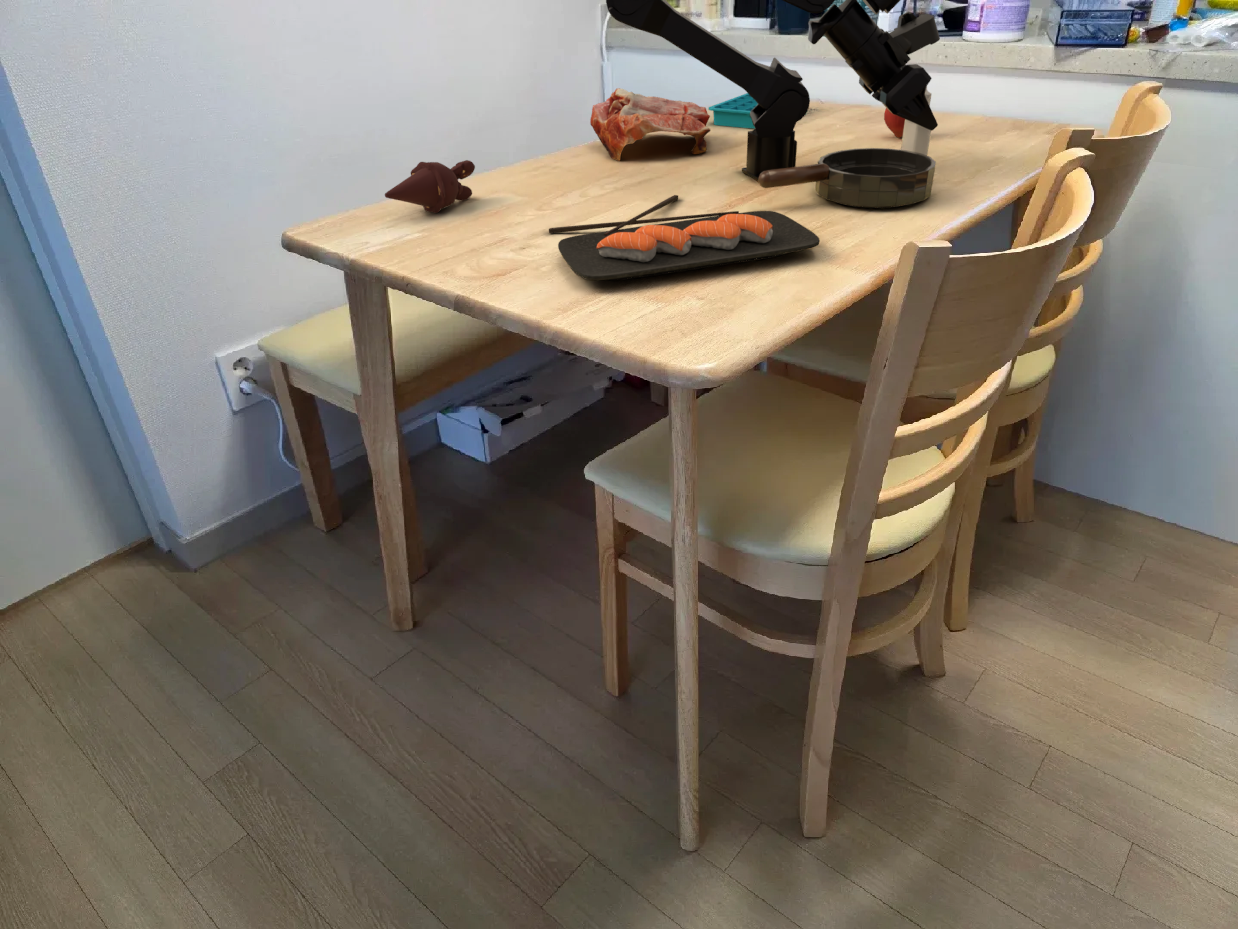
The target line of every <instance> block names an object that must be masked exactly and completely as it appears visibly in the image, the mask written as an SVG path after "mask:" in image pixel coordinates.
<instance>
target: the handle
mask: <svg viewBox="0 0 1238 929" xmlns="http://www.w3.org/2000/svg"><path fill="white" fill-rule="evenodd" d="M829 169H830V168H829V166H828V165H826V164H823V163H822V164H818V163H815V164H807V165H800V166H798V165H797V166H795V167H790V168H782V169H775V170H767V171H763V172H762V173H761V174H760V175H759V178H758V180H757V181H758V184H759V186H760V187H761V188H763V189H772V188H779V187H786V186H793V185H802V184H808V183H816V182H817V181H824V180H826V179H827V178H828V175H829Z"/></svg>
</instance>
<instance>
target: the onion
mask: <svg viewBox="0 0 1238 929" xmlns="http://www.w3.org/2000/svg"><path fill="white" fill-rule="evenodd" d="M883 120H884V123H885V125H886V127H887V128H888V130H889V131H891V133H892V134H893V135H894V136H895V137H896V138H899V139H900V138H902V137H903V130H904V123H905V119H904V118H902V117H899V116H897V115H893V114H892V113H891V112H890V111H889V110H888V109H887V108H886V107H885V110H884V113H883Z"/></svg>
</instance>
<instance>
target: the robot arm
mask: <svg viewBox="0 0 1238 929" xmlns="http://www.w3.org/2000/svg"><path fill="white" fill-rule="evenodd" d="M782 1H783V2H785V3H787V4H789V5H791V6H794V7H796V8H798V9H800V10H801V11H804V12H807V13H809V14H820V13H823V12H824V11H825V12H824V13H823V15H822V16H821V17H820V18H819V19H817V20H813V19H812V20H811V19H810V20H809V21H808V27H809V28H808V30H809V31H808V36H807V40H808V42H810V44H812V45H816V44H817V43H818V42H819V41H820V40H821V39H822V38H823V37H825V38H826V40H827V41H828V42H829V43H830V44H831V45H832V47H833V48H834V49H835V50H836V51H837V52H838V53H839V55H840V56H841V57H842V58H843V59H844V62H845V63H846V64H847V65H848V66H849V67H850V68H851V69H852V70H853V72H854V73H856V75H857V76H858V78H859V80H858V84H859V85H860V86H861V88H863V90H864V91H865V92H866V93H867V94H869V95H871V97H872V98H874V99H875V100H876V101H877V102H880V103H881V104H882V105H883V106H884V107H885V109H886V108H887V109H888V110H889V111H890V112H891V113H892V114H893V115H897V116H899V117H902V118H904V119H906V120H908V121H911V122H913V123H915V124H918V125H920V126H922V127H924V128H926V129H929V130H931V132H932V131H934V130H935V129H936V128H937V127H938V126H939V124H938V122H937V119H936V116H935V115H934V113H933V110H932V109H931V105H930V106H929V104H928V101H927V99H926V97H925V91H926V87H927V88H928V85H929V83H930V82H931V81H932V79H933V78H932V77H931V75H930V74H929V73H928V71H927V70H926V69H925V68H924V67H923V66H921V65H919V64H917V63H916V64H914V63H913V64H912V63H911V64H908V63H909V62H910V61H911V57H910V56H909V55H912V54H914V53H915V52H917V51H920V50H921V49H923V48H926V47H927V46H928V45H934V44H936V43H938V42H939V41H940V40H941V37H940V33H939V30H938V27H937V23H936V19H935V16H934V15H932V14H929V13H925V14H919V15H918V17H917V16H916V15H915V14H914V13H913V12H911V11H906V12H904V13H903V14H901V15H899V16H898V20H897V26H896V27H895V28H893V30H892V31H890V32H889V31H888V30H886V31H885V30H884V29H883V28H880V27H879V26H878V24H877V23H876V22H875V21H874V20H873V18H872V17H871V16H870V15H869V14H868V12H867V11H866V9H864V7H863V6H862V5H861V4H860V3H859V1H858V0H844V1H843V2H842V3H841V4H840V5H839V6H838V5H837V4H835V3H834V2H835V1H836V0H782ZM862 2H863V3H864V4H865V5H866V6H867V7H868V8H869V10H870V11H871V12H872V13H873V14H874V15H878V14H879V13H880V11H881V12H882V13H886V14H889V13H890V12H891V11H892V10H893V9H894V8H895V7H896V6H897V5H898V4H899V3H900V2H901V0H862ZM605 3H606V4H605V5H606V7H607V11H608V13H609V14H610V16H611V17H612V18H613V19H614V20H615V21H617V22H619V23H621V24H624V25H626V26H629V27H632V28H634V29H636V30H639V31H642V32H646V33H649V34H652V35H655V36H657V37H660V38H663V39H664V40H665V41H667V42H669V43H670V44H672V45H674V46H675V47H677V48H678V49H680V50H681V51H683V52H684V53H686V54H688V55H689V56H691V57H692V58H693V59H695V60H697V61H699V62H700V63H702V64H703V65H705V66H707V67H708V68H710V69H711V70H713V71H714V72H716V73H717V74H719V75H721V76H723V77H724V78H725V79H727V80H729V81H730V82H731V83H734V84H735V85H736V86H738V87H739V88H741V89H743V90H744V91H745V92H746V93H748V94H749V95H750V96H751V97H752V98H753V99H754V100H755V101H756V102H757V103H758V104H757V105H756V106H755V107H754V108H753V109H752V110H751V112H750V116H751V119H752V122H753V125H754V126H755V129H752V130H748V131H747V137H746V138H747V139H746V140H747V141H746V164H745V165H746V166H745V167H742V168H741V172H742V173H744V174H745V175H747V176H749V177H750V178H752V179H754V180H756V181H758V178H759V175H760V174H761V173H762V172H763V171H767V170H775V169H782V168H790V167H797V165H796V164H797V149H798V141H797V140H796V139H795V138H796V130H794V129H795V126H796V124H797V122H799V121H801V120H802V119H803V118H804V117H805V115H806V114H807V112H808V110H809V108H810V103H811V98H810V93H809V91H808V89H807V87H805V85H804V84H803V82H802V81H803V80H804V78H803V77H802V76H801V74H800V73H799V72H798V71H797V70H795V69H790V68H787V67H786V66H785V65H783V63H782V62H780V61H779V59H778V58H777V57H773V58H772V61H771V64H770V66H769V65H766V64H763V63H760V62H757V61H756V60H754V59H752V57H750V56H748V55H746V54H745V53H743V52H742V51H739V49H737V48H735V47H734V46H732V45H731V44H729V43H727V42H726V41H724V40H723V39H721V38H720V37H718V36H717V35H715V34H714V33H712V32H711V31H709V30H708V29H706V28H704V27H703V26H701V25H700V24H698V23H697V22H695V21H693V20H692V19H690V18H689V17H688V16H686V15H684V14H683V13H681V12H680V11H678V10H677V9H676V8H674V7H673V6H672V5H671V4H670V3H669V2H668V1H667V0H605Z"/></svg>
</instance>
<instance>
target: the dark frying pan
mask: <svg viewBox="0 0 1238 929" xmlns="http://www.w3.org/2000/svg"><path fill="white" fill-rule="evenodd" d="M822 163H823V164H826V165H828V166H829V168H830V169H829V175H828V178H827V179H826V180H824V181H817V182H815V192H816V193H817V195H818V196H819V197H821V198H823V199H825V200H827V201H830V202H834V203H836V204H840V205H844V206H848V207H853V208H862V209H890V208H899V207H904V206H909V205H913V204H917V203H919V202H922V201H926V199H928V198H929V197H931V195H932V190H933V184H934V179H935V178H934V177H935V172H936V165H937V161H936V160H935V159H934V158H932V157H931V156H929V155H927V156H926V155H924V154H921V153H917V152H912V151H907V150H901V149H898V148H888V147H887V148H885V147H864V148H863V147H862V148H849V149H842V150H837V151H833V152H829V153H827V154H825V155H822V156H821V157H819V160H818V161H817V164H822Z"/></svg>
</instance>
